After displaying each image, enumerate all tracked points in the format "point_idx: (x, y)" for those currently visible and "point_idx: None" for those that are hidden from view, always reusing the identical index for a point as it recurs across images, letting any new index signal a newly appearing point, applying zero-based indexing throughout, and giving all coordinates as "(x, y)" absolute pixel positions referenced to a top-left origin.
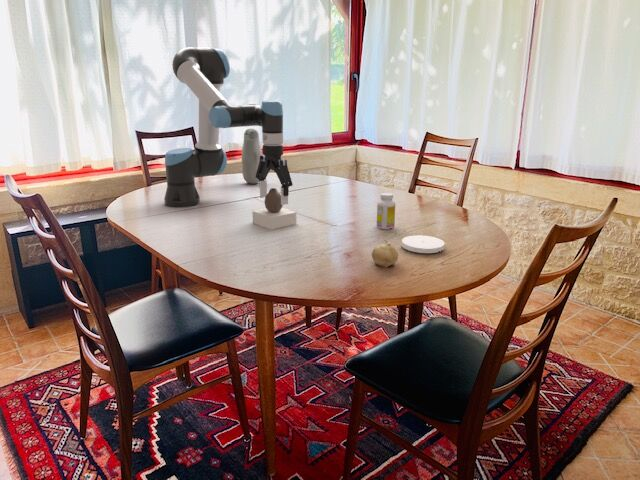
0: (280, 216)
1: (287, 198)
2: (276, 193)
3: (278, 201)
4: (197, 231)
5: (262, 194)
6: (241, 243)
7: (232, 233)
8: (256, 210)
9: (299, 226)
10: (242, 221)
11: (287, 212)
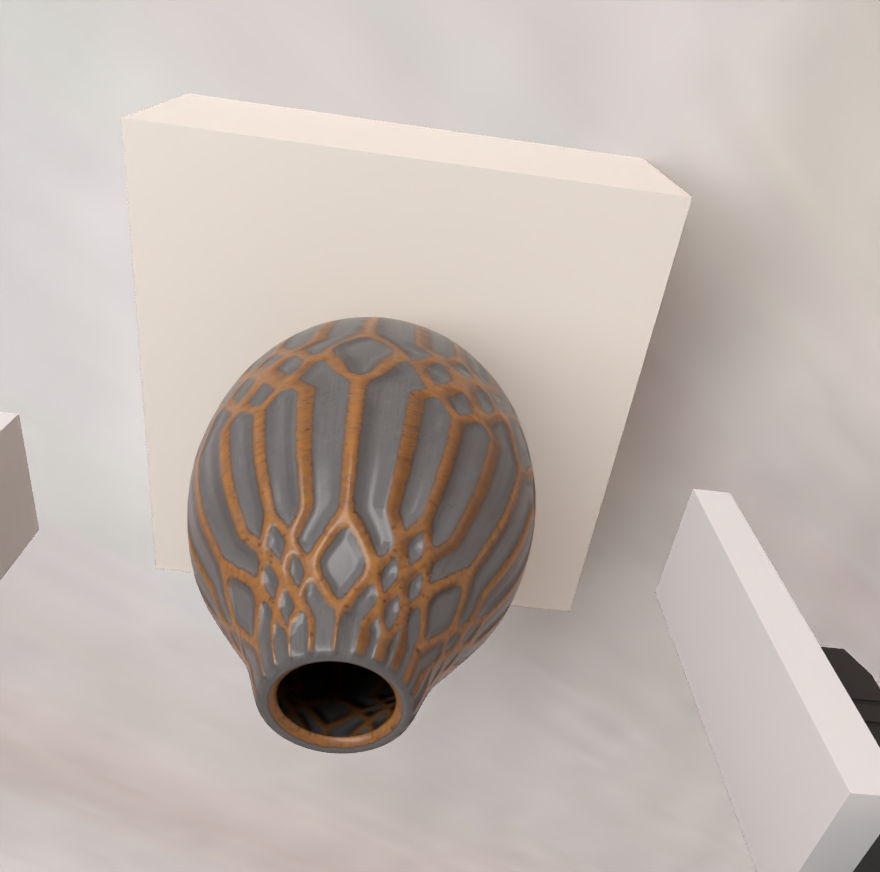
0: (605, 479)
1: (764, 570)
2: (460, 639)
3: (529, 551)
4: (153, 848)
5: (2, 544)
6: (616, 824)
7: (376, 753)
8: (165, 524)
9: (752, 223)
10: (96, 521)
11: (576, 309)
